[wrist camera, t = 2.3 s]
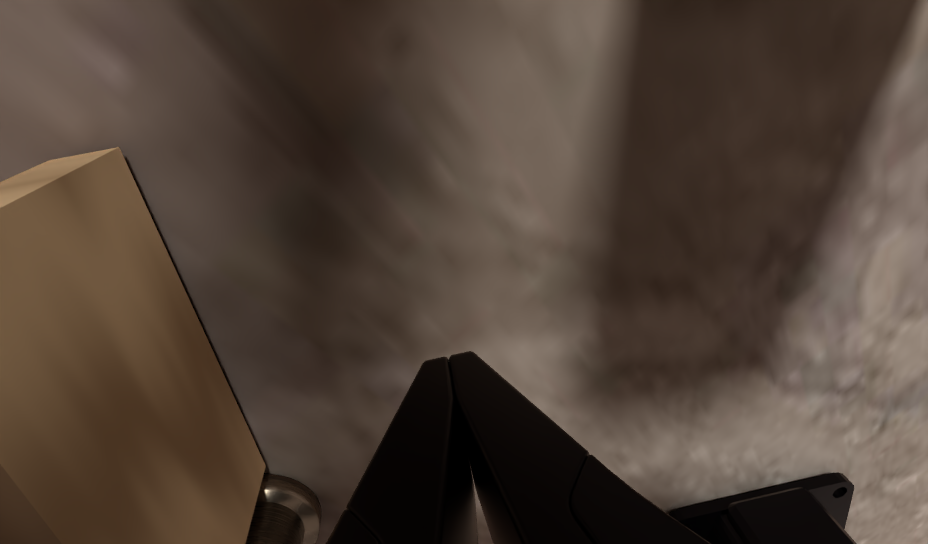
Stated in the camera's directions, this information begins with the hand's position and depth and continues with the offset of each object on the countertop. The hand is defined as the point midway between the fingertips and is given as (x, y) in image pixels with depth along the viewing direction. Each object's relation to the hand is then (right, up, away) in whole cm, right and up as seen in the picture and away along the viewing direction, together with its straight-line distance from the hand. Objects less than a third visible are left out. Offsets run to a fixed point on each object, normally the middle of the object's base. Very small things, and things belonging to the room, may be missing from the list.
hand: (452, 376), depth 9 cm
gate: (-7, 0, +4) cm, 8 cm away
